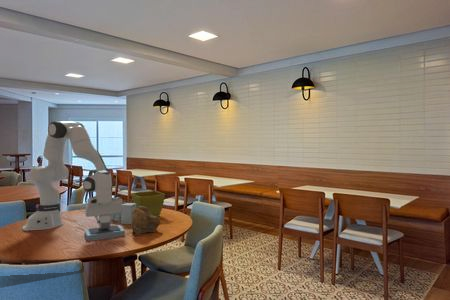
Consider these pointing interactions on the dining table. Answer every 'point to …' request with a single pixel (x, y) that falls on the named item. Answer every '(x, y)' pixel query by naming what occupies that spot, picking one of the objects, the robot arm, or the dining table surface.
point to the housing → (104, 221)
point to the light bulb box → (116, 217)
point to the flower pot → (149, 201)
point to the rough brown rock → (143, 221)
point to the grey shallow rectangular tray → (104, 233)
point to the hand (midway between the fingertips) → (104, 222)
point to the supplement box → (127, 212)
